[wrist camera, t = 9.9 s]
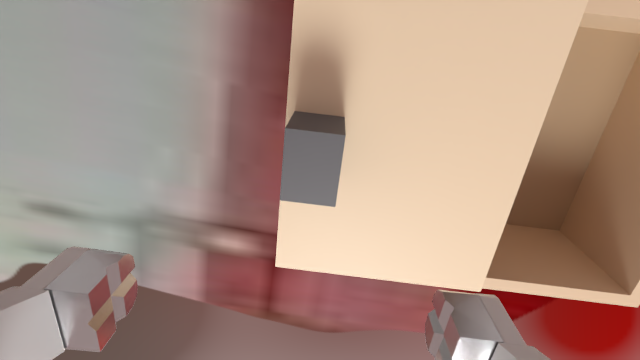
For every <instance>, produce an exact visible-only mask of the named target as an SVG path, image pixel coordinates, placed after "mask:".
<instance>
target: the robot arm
mask: <svg viewBox="0 0 640 360" xmlns="http://www.w3.org/2000/svg"><path fill="white" fill-rule="evenodd" d="M134 267H135V264H134V259H133V256H131V255H130V254H127V253H120V252H113V251H105V250H98V249H89V248H82V247H70V248H67V249H66V250H65V251H63V252H62V253H61V254H60V255H59V256H57V257H56V258H55V259H54V260H52V261H51V262H50V263H49V264H48V265H46V266H45V267H44V268H43V269H41V270H40V271H39V272H38V273H37V274H36V275H34V276H33V277H32V278H31V279H29V280H28V281H27V282H26V283H24V284H23V285H22V286H21V287H11V288H8V289H6V290H3V291H0V360H52V359H53V358H55V357H56V356H58V355H59V354H61V353H62V352H64V351H65V349H72V350H83V351H95V352H101V351H102V349H103V348H104V346H105V345H106V344H107V342H108V341H109V339H110V338H111V337H112V335H113V334H114V333H115V331H116V323H115V322H117V321H119V320H120V319H122V318H124V317H126V316H127V315H128V313H129V312H130V310H131V309H132V307H133V305H134V302H135V299H136V297H137V288H138V287H137V280H136V279H135V278H134V277H133V275H132V274H131V273H130V272H131V271H132V270H133V269H134ZM432 302H433V305H434V308H435V309H434V310H433V311H431V312H430V313H429V314H428V316H427V320H426V323H425V339H426V344H427V348H428V351H429V352H430V353H431V354H432V355H433V356H434V357H435V360H550V359H549V358H548V357H546V356H545V355H544V354H542V353H541V352H540V351H538V350H537V349H536V348H534V347H533V346H527V345H526V343H525V342H524V340H523V339H522V337H521V335H520V333H519V332H518V330H517V328H516V327H515V325H514V323H513V322H512V320H511V318H510V317H509V315H508V313H507V312H506V310H505V308H504V307H503V305H502V303H501V302H500V300H499V299H498V298H497V297H496V296H495V295H487V294H476V293H475V294H471V293H462V292H453V291H444V290H437V291H436V292H435V294H434V297H433V300H432Z"/></svg>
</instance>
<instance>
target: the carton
mask: <svg viewBox="0 0 640 360" xmlns="http://www.w3.org/2000/svg"><path fill="white" fill-rule="evenodd" d="M482 288H485V289H493V290H501V291H509V292H517V293H525V294H533V295H542V296H550V297H558V298H567V299H575V300H582V301H591V302H598V303H607V304H615V305H624V306H631V307H638V306H639V304H640V0H588V3H587V6H586V8H585V11H584V14H583V17H582V19H581V22H580V25H579V27H578V30H577V33H576V35H575V38H574V41H573V44H572V46H571V49H570V52H569V54H568V57H567V60H566V62H565V65H564V68H563V71H562V73H561V76H560V79H559V81H558V84H557V87H556V89H555V92H554V95H553V97H552V100H551V103H550V106H549V108H548V111H547V114H546V116H545V119H544V122H543V124H542V127H541V130H540V133H539V135H538V138H537V141H536V143H535V146H534V149H533V151H532V154H531V157H530V160H529V162H528V165H527V168H526V170H525V173H524V176H523V178H522V181H521V184H520V187H519V189H518V192H517V195H516V197H515V200H514V203H513V205H512V208H511V211H510V214H509V216H508V219H507V222H506V224H505V227H504V230H503V232H502V235H501V238H500V241H499V243H498V246H497V249H496V251H495V254H494V257H493V259H492V262H491V265H490V268H489V270H488V273H487V276H486V278H485V281H484V284H483V286H482Z"/></svg>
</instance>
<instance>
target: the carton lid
mask: <svg viewBox="0 0 640 360" xmlns="http://www.w3.org/2000/svg"><path fill="white" fill-rule="evenodd" d="M587 3H588V0H294V11H293V25H292V39H291V53H290V67H289V81H288V95H287V110H286V124H285V136H284V150H283V164H282V178H281V192H280V208H279V222H278V236H277V250H276V264H275V267H282V268H291V269H299V270H307V271H315V272H323V273H331V274H339V275H347V276H356V277H364V278H372V279H380V280H388V281H396V282H404V283H412V284H421V285H429V286H437V287H445V288H453V289H461V290H469V291H477V292H481V289H482V286H483V284H484V281H485V278H486V276H487V273H488V270H489V268H490V265H491V262H492V259H493V257H494V254H495V251H496V249H497V246H498V243H499V241H500V238H501V235H502V232H503V230H504V227H505V224H506V222H507V219H508V216H509V214H510V211H511V208H512V205H513V203H514V200H515V197H516V195H517V192H518V189H519V187H520V184H521V181H522V178H523V176H524V173H525V170H526V168H527V165H528V162H529V160H530V157H531V154H532V151H533V149H534V146H535V143H536V141H537V138H538V135H539V133H540V130H541V127H542V124H543V122H544V119H545V116H546V114H547V111H548V108H549V106H550V103H551V100H552V97H553V95H554V92H555V89H556V87H557V84H558V81H559V79H560V76H561V73H562V71H563V68H564V65H565V62H566V60H567V57H568V54H569V52H570V49H571V46H572V44H573V41H574V38H575V35H576V33H577V30H578V27H579V25H580V22H581V19H582V17H583V14H584V11H585V8H586V6H587Z"/></svg>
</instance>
